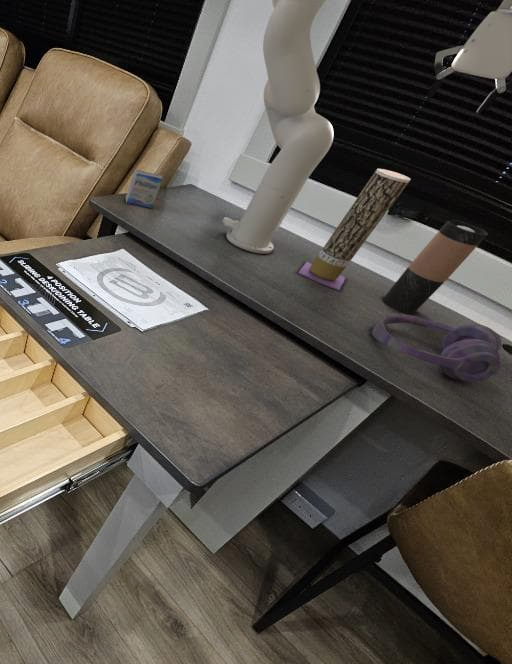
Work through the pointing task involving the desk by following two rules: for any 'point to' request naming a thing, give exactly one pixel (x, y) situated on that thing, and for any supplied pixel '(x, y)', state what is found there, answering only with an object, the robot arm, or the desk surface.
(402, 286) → the travel mug
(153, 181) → the medicine box
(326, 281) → the mat
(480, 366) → the headphones
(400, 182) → the paper tube
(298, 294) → the desk surface
